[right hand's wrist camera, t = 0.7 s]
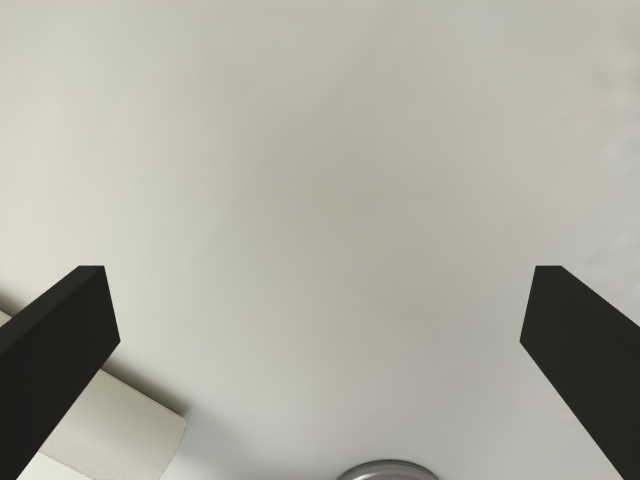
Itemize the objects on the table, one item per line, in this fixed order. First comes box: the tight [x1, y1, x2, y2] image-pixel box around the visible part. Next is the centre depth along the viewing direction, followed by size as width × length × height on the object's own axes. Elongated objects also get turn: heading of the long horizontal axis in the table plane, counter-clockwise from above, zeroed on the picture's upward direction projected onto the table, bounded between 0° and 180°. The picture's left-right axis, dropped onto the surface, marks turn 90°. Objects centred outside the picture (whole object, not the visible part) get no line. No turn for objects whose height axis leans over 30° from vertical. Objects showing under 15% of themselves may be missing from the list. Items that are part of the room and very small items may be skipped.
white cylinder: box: [0, 311, 187, 480], centre depth 40 cm, size 26×8×8 cm, turn 49°
